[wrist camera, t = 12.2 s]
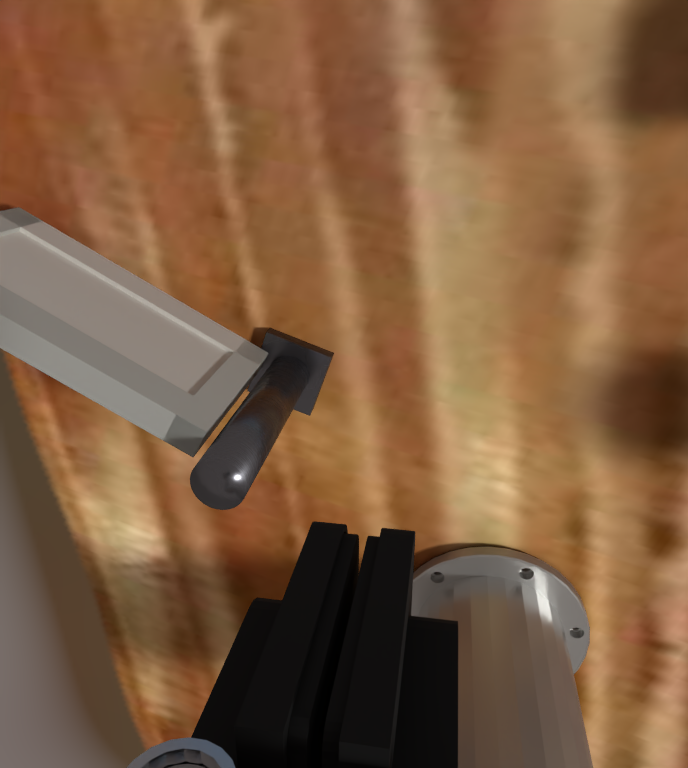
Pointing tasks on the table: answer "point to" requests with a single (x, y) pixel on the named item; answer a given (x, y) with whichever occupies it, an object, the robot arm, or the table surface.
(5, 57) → the table surface
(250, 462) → the hinge post
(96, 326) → the panel
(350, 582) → the robot arm
